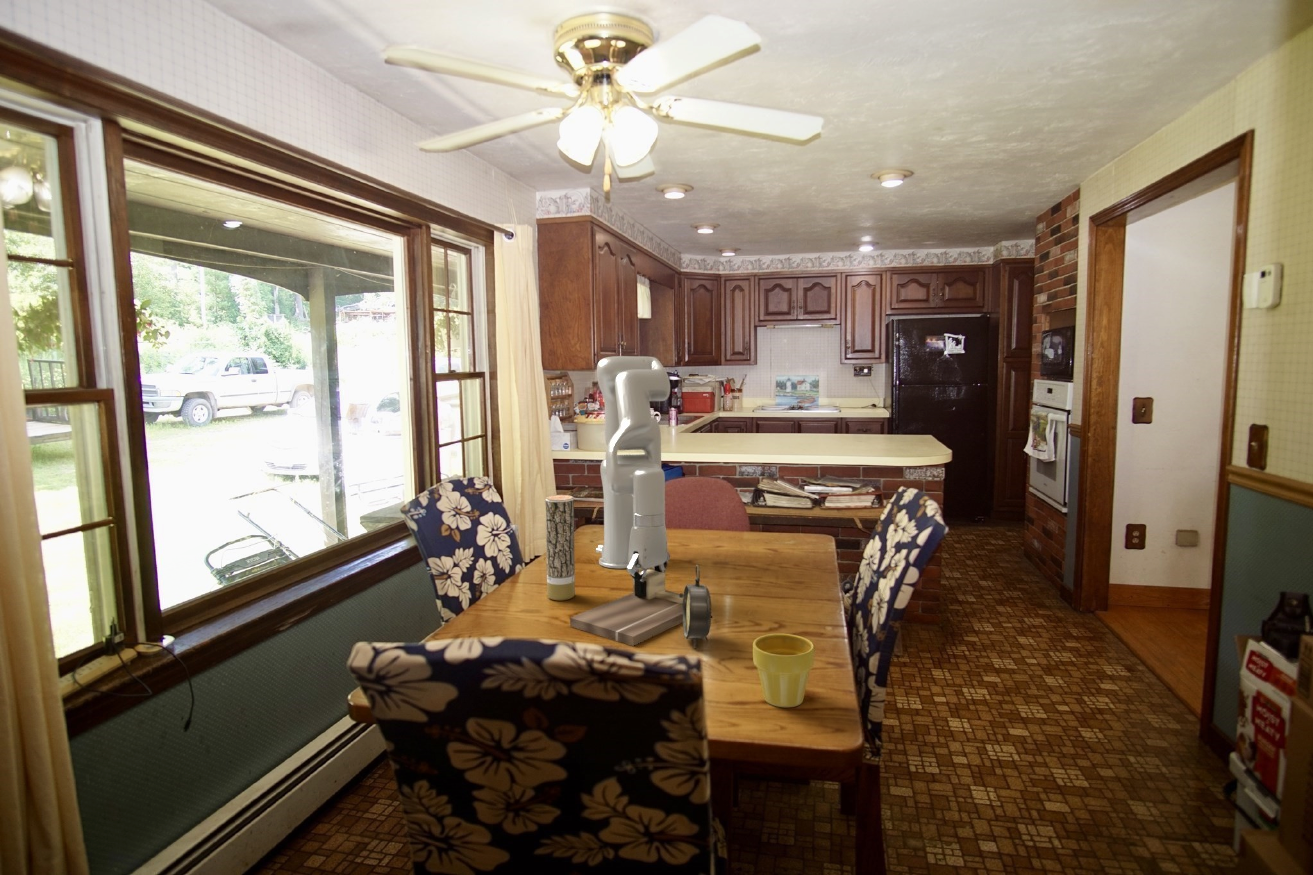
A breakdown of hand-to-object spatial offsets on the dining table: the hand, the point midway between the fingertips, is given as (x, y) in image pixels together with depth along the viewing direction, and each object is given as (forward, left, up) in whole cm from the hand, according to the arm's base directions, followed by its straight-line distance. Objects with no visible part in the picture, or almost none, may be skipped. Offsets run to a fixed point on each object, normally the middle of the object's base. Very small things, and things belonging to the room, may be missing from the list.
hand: (649, 592), depth 170 cm
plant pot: (+49, -25, -3) cm, 55 cm away
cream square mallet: (+4, 0, 0) cm, 4 cm away
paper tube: (-20, -10, -3) cm, 22 cm away
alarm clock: (+23, -13, -3) cm, 27 cm away
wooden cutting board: (+5, -9, -2) cm, 11 cm away
